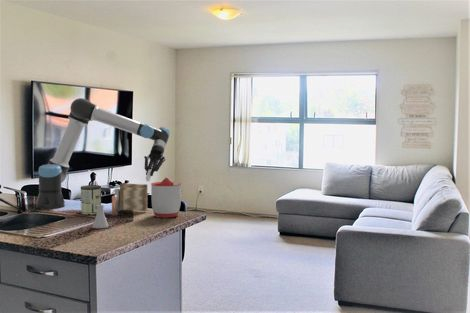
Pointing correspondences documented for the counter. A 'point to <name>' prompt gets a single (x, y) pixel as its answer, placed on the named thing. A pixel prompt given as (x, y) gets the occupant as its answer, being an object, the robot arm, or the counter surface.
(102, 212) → the flask
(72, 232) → the counter surface
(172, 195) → the citrus juicer
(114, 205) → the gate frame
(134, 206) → the brown beige flat square
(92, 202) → the coffee can
